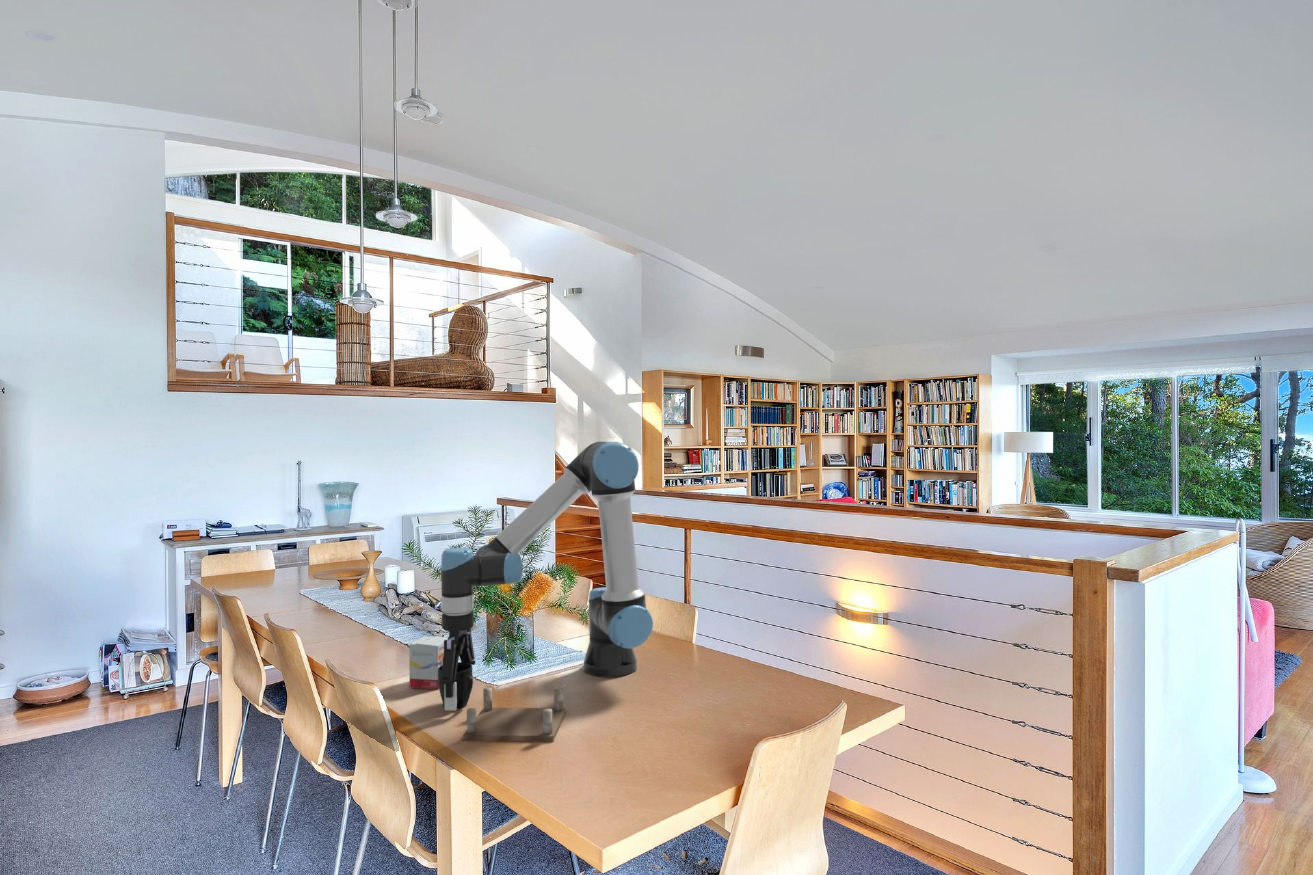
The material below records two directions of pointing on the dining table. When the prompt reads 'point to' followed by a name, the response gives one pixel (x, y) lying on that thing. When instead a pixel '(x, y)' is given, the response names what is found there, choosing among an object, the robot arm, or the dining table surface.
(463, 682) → the mug
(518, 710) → the brown board with pegs
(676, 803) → the dining table surface
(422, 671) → the ink box
